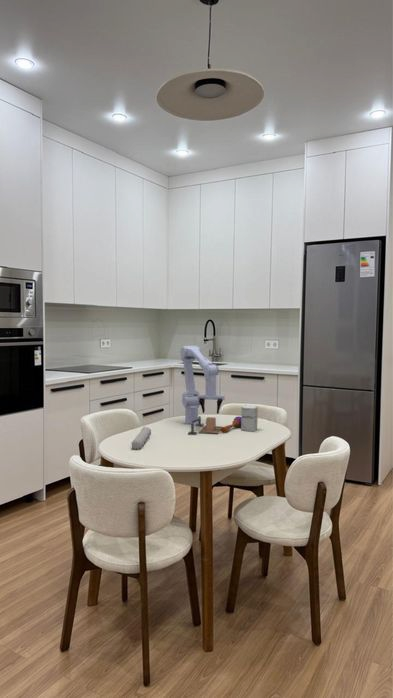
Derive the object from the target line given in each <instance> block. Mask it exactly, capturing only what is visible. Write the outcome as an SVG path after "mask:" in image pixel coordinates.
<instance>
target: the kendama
mask: <svg viewBox="0 0 393 698" xmlns="http://www.w3.org/2000/svg"><path fill="white" fill-rule="evenodd" d="M233 427H234V428H241V416H235V417H234V418H233V421H232V424H228V425H226V426H225V425H224V426H222V428H221V430H220V432H221V433H222V434H226V433H227V432H228V431H229V430H230V429H231V428H233Z"/></svg>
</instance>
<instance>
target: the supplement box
mask: <svg viewBox="0 0 393 698" xmlns="http://www.w3.org/2000/svg"><path fill="white" fill-rule="evenodd" d="M258 413H259V406H257V405H248V404H247V405H243V406H241V416H240V417H241V427H240V430H241V431H246V432H255V431H256V430H258V419H259V418H258V417H259V416H258V415H259V414H258Z"/></svg>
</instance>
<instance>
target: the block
mask: <svg viewBox="0 0 393 698" xmlns="http://www.w3.org/2000/svg"><path fill="white" fill-rule="evenodd" d="M216 420H217V417H206V418H205V426H206V430H215V429H216V426H217V425H216V422H217V421H216Z"/></svg>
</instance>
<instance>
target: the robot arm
mask: <svg viewBox="0 0 393 698" xmlns="http://www.w3.org/2000/svg"><path fill="white" fill-rule="evenodd" d="M180 360H181V361H182V364H183V371H184V372H183V373H184V381H185V388H186V389H185V391H184V392H183V394H182V398H181V399H182V400H181V403H182V406H183V407H184V409H185V410H184V417H185V418H184V421H183V424H190V425H191V424H192V421H194V420H196V419H198V417H199V409H198V408H200V407H201V411H202V414H205V402H206V400H211V401H213V400H215V401H216V414H218V415H219V413H220V408H221V405H222V403H223V401H225V400H226V399H225V398H226V397H225V395H217V376H218V375H219V373H220V372H219V371H220V369H219V367H218V365H217V364H214V363H212V362H211V361H210V360H209V359H208V357H206V356H205V357H204V355H203V354H202V352H201V348H200V347H199V346H198V345H182V347H180ZM194 361H198V365H199V366H200V368H201V369H202V371H203V374H204V380H205V394H200V392H199V391H198V390H197V389H196V387H195V386H196V385H195V375H194V368H193V362H194ZM197 423H198V421H196V422H194V423H193V424H194V425H196V424H197Z"/></svg>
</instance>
